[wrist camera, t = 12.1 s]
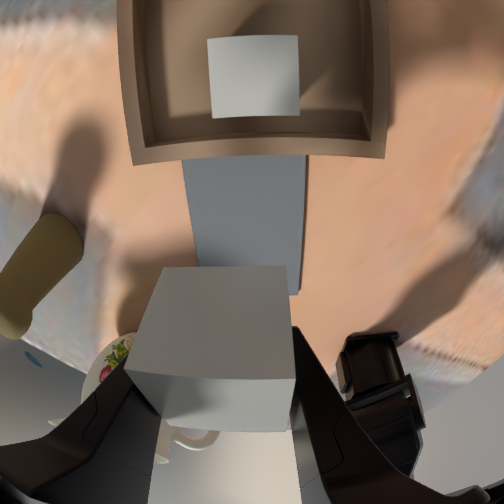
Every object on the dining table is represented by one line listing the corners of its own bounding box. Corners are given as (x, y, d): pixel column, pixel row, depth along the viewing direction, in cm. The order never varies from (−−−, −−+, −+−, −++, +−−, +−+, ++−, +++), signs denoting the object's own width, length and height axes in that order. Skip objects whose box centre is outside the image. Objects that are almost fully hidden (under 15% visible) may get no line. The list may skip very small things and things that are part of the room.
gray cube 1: (289, 46, 12) (297, 35, 9) (290, 108, 15) (299, 115, 11) (219, 49, 13) (207, 39, 9) (223, 110, 15) (212, 118, 12)
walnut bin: (363, -45, 8) (375, -57, 6) (369, 148, 16) (384, 159, 14) (135, -34, 9) (119, -45, 6) (147, 154, 17) (133, 165, 15)
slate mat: (304, 152, 17) (305, 154, 16) (297, 292, 24) (298, 295, 23) (182, 157, 17) (181, 159, 17) (205, 292, 24) (205, 296, 24)
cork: (29, 227, 21) (-36, 301, 12) (57, 201, 19) (-24, 282, 10) (62, 272, 24) (10, 353, 15) (94, 254, 22) (33, 348, 13)
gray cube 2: (285, 265, 9) (295, 378, 5) (281, 341, 11) (285, 431, 8) (163, 266, 9) (123, 368, 6) (187, 340, 11) (169, 425, 8)
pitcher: (216, 388, 35) (206, 479, 23) (93, 350, 32) (61, 434, 20) (239, 347, 29) (230, 470, 17) (84, 299, 26) (31, 404, 14)
